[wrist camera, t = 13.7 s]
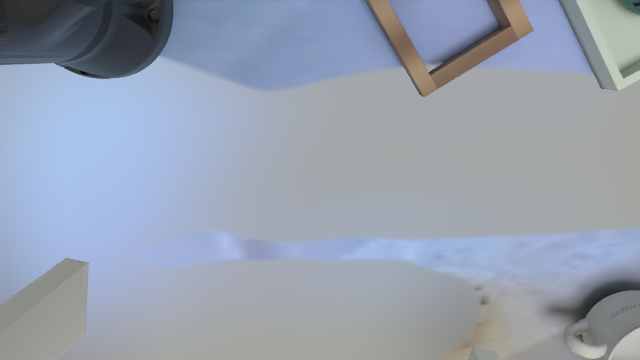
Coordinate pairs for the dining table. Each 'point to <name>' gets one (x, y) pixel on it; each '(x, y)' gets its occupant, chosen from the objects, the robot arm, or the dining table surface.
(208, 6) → the dining table surface
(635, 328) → the teacup
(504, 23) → the socket block
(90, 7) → the robot arm
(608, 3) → the tray
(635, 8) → the beverage bottle
